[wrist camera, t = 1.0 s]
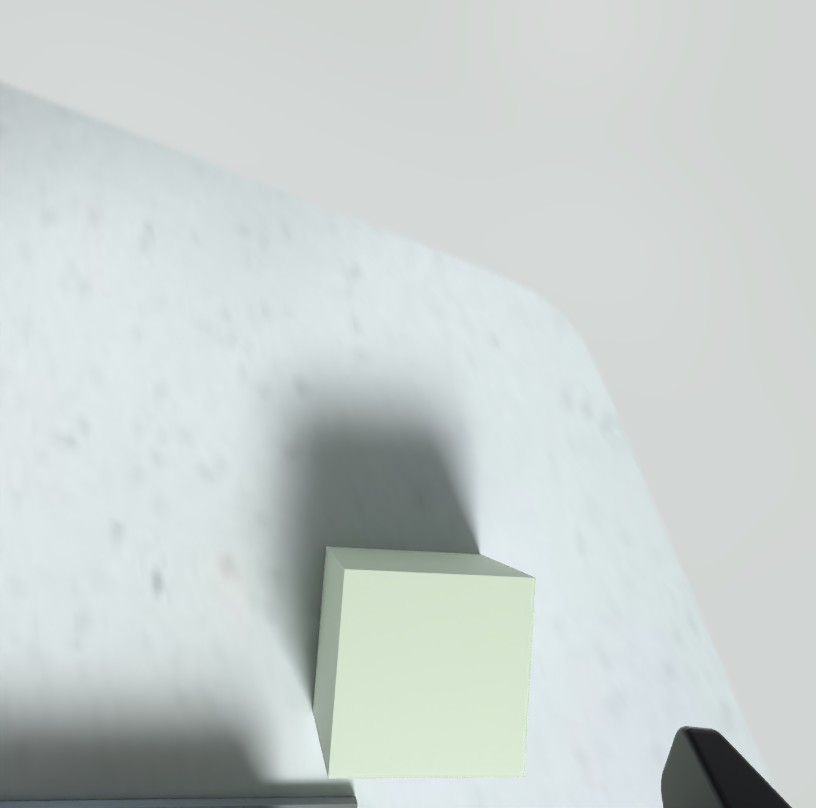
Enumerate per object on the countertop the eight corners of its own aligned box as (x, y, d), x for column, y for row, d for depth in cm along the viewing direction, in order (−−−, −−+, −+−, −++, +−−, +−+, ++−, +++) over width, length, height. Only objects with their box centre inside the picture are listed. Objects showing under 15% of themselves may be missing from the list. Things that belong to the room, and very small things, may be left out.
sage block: (469, 711, 24) (524, 776, 19) (312, 710, 23) (328, 778, 18) (479, 553, 24) (535, 577, 20) (325, 546, 23) (344, 569, 19)
